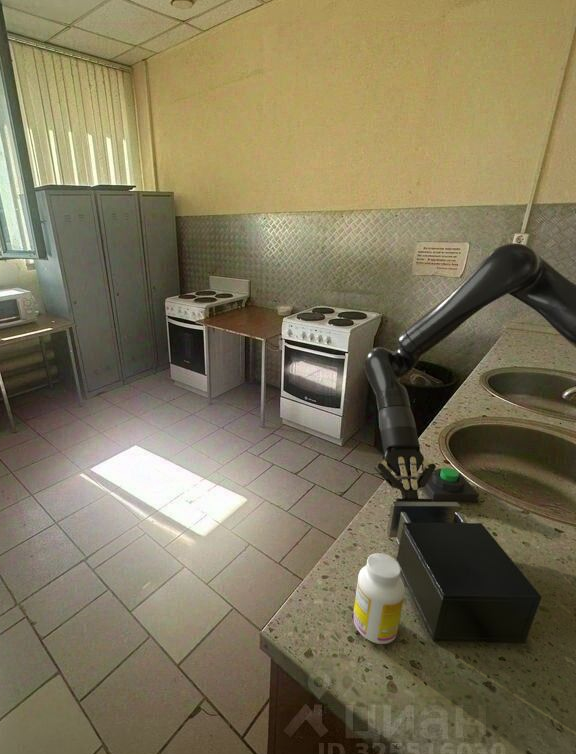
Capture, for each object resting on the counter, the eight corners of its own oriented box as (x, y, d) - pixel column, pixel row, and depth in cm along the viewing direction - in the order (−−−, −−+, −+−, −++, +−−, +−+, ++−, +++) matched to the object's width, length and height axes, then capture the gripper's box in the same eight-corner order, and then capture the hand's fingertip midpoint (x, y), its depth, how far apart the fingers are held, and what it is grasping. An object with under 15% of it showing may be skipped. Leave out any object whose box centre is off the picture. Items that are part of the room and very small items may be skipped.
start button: (452, 473, 94) (453, 467, 94) (460, 482, 91) (462, 476, 90) (437, 473, 94) (438, 467, 94) (444, 482, 91) (445, 476, 90)
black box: (395, 563, 75) (403, 522, 71) (470, 564, 74) (481, 522, 71) (432, 641, 61) (443, 595, 57) (525, 643, 60) (542, 596, 57)
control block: (458, 480, 97) (461, 466, 96) (477, 502, 90) (480, 487, 88) (417, 480, 98) (419, 466, 96) (432, 501, 90) (435, 487, 89)
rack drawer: (379, 518, 85) (384, 488, 82) (439, 518, 84) (446, 488, 81) (415, 591, 68) (422, 556, 65) (490, 592, 67) (501, 557, 65)
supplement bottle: (400, 619, 64) (412, 559, 60) (391, 654, 59) (404, 592, 55) (359, 599, 68) (367, 541, 63) (347, 631, 63) (355, 570, 58)
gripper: (373, 424, 87) (386, 507, 80) (434, 424, 86) (453, 507, 79) (363, 433, 94) (374, 510, 87) (420, 433, 93) (436, 510, 86)
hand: (412, 509), depth 83 cm, fingers closed
